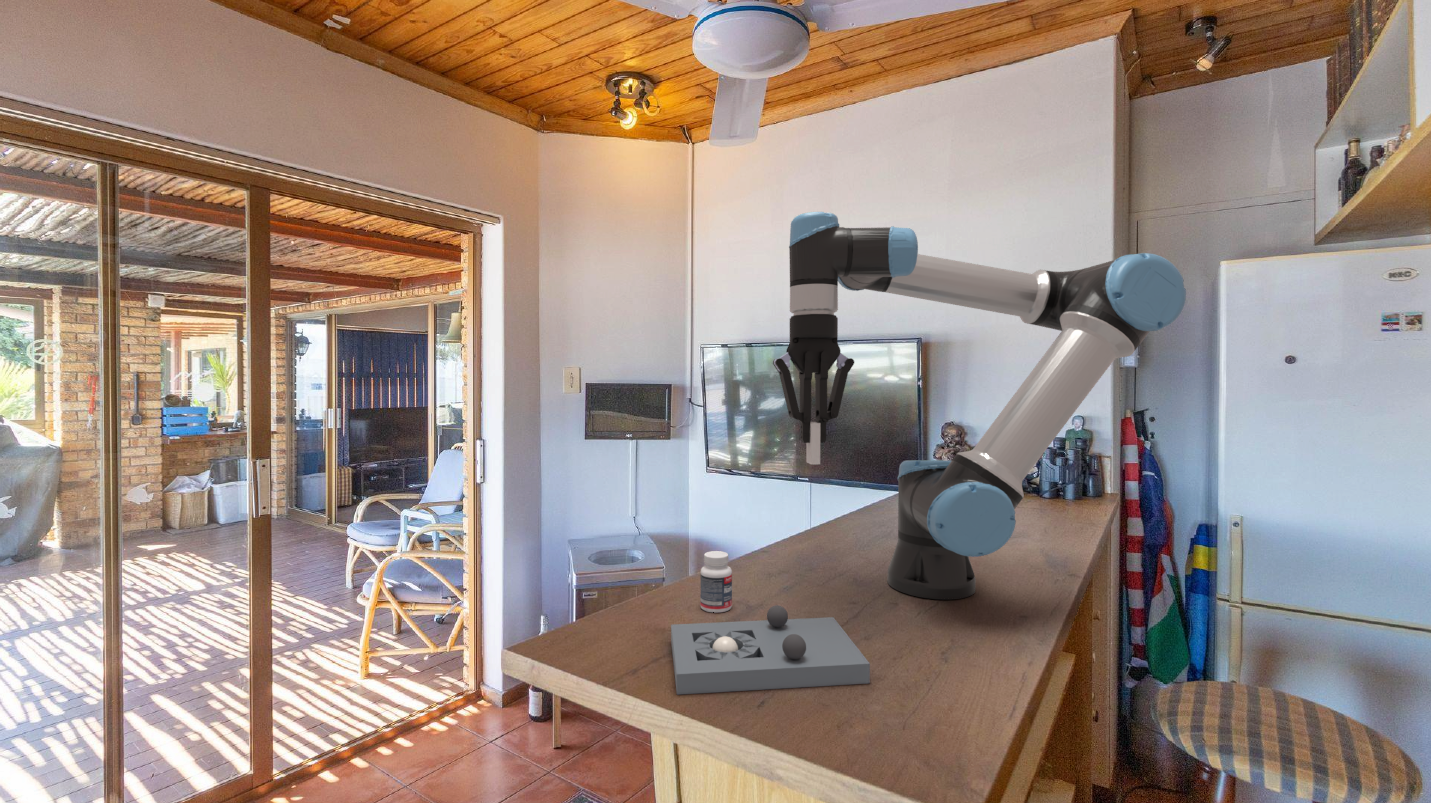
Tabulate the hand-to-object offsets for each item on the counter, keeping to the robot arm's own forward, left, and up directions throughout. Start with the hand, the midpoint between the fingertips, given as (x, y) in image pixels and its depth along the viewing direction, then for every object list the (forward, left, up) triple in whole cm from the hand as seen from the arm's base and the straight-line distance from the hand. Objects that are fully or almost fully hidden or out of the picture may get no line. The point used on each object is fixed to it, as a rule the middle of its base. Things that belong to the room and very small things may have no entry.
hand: (813, 463), depth 100 cm
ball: (+16, +16, -23) cm, 32 cm away
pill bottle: (+15, -4, -25) cm, 29 cm away
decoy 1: (+8, +11, -20) cm, 24 cm away
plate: (+11, +16, -24) cm, 31 cm away
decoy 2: (+8, +21, -20) cm, 30 cm away
